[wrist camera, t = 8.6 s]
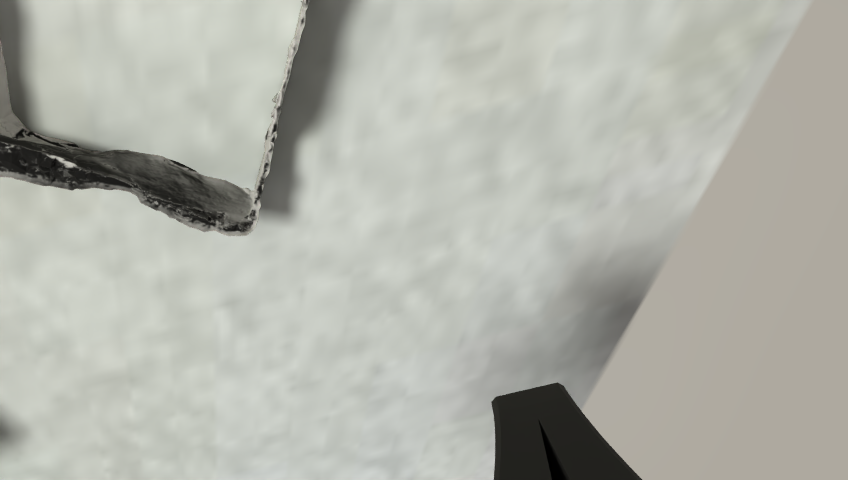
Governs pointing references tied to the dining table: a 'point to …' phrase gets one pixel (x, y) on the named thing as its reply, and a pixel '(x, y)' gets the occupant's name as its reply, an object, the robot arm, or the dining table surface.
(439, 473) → the dining table surface
